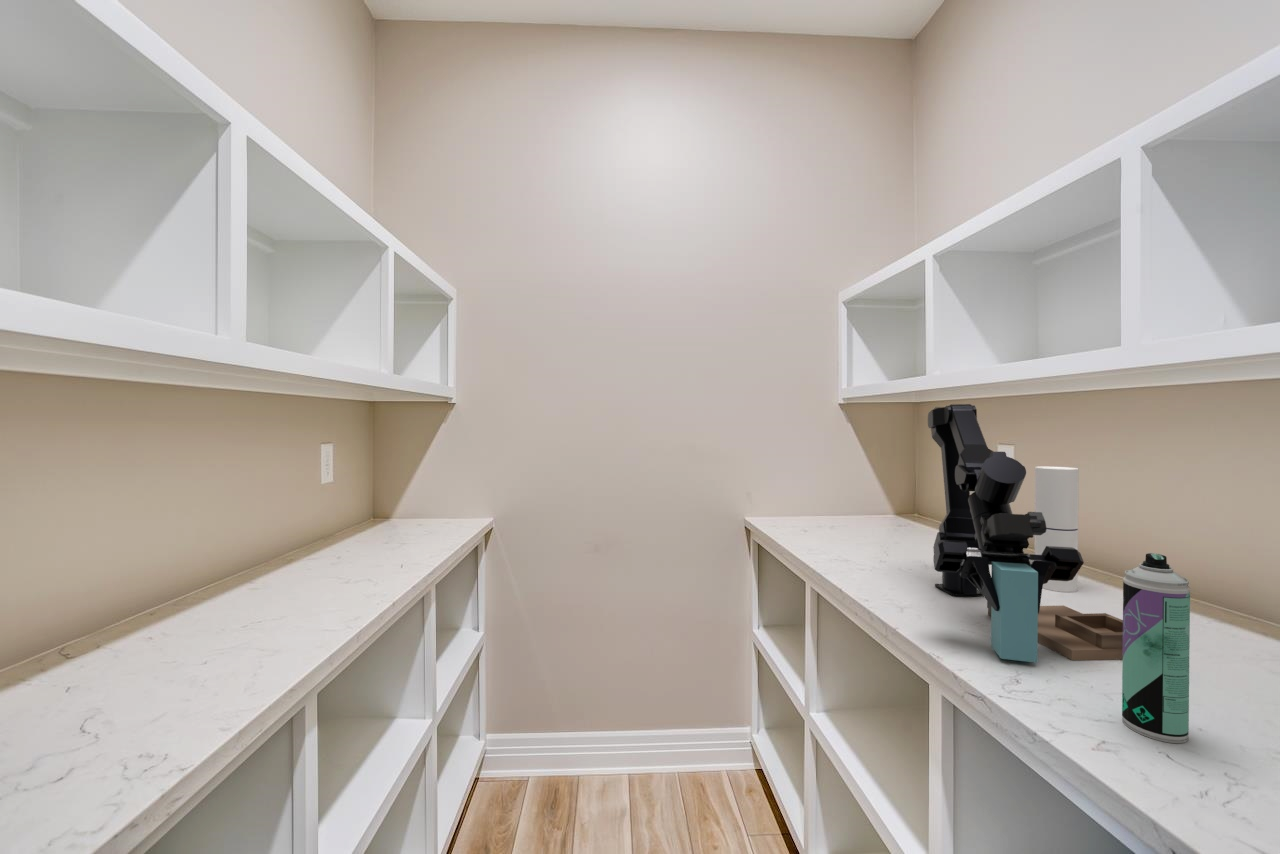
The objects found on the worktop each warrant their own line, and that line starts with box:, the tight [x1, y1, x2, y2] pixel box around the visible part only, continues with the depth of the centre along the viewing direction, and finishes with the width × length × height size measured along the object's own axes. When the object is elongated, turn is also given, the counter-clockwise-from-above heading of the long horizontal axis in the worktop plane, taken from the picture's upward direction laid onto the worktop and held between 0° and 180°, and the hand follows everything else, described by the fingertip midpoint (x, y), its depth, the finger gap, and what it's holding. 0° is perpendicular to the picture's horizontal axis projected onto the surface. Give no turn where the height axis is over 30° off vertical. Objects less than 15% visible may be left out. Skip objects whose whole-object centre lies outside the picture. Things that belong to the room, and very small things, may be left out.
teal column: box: [990, 562, 1039, 664], centre depth 79 cm, size 4×4×13 cm
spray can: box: [1121, 552, 1191, 744], centre depth 61 cm, size 6×6×20 cm
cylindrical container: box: [1034, 465, 1079, 593], centre depth 112 cm, size 7×7×25 cm
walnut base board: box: [986, 600, 1123, 661], centre depth 87 cm, size 18×14×6 cm
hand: (1017, 611), depth 77 cm, fingers closed on teal column, 4 cm apart
